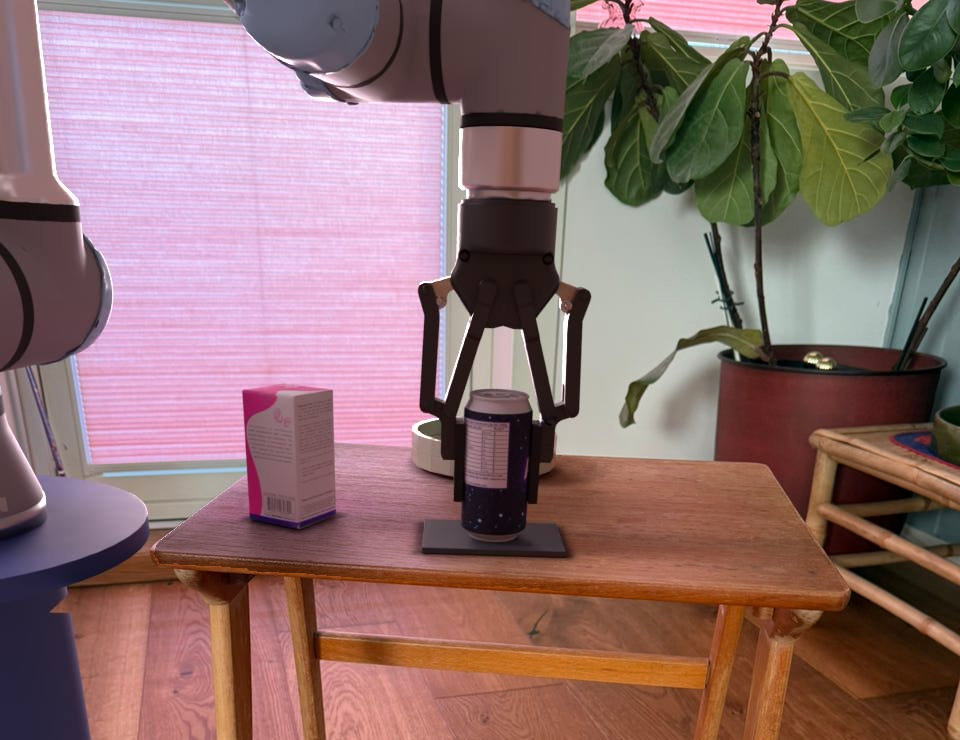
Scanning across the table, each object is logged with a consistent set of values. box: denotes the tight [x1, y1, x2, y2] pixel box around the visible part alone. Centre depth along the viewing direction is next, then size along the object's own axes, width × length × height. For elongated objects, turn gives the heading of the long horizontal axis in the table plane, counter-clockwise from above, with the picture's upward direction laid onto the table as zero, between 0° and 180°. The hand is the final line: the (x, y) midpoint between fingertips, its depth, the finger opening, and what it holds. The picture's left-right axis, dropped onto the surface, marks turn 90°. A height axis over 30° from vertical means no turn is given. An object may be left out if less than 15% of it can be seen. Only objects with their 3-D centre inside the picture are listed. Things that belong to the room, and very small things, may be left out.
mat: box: [421, 518, 567, 558], centre depth 79 cm, size 12×8×1 cm, turn 92°
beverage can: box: [460, 388, 534, 542], centre depth 76 cm, size 6×6×12 cm
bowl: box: [411, 416, 558, 478], centre depth 103 cm, size 16×16×4 cm
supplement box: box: [241, 383, 337, 530], centre depth 81 cm, size 6×6×12 cm
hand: (494, 498), depth 78 cm, fingers closed on beverage can, 6 cm apart
